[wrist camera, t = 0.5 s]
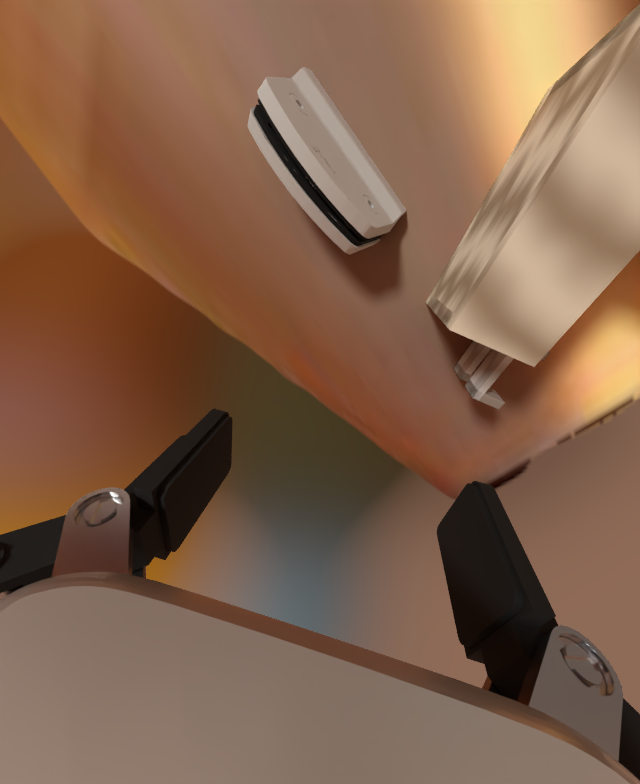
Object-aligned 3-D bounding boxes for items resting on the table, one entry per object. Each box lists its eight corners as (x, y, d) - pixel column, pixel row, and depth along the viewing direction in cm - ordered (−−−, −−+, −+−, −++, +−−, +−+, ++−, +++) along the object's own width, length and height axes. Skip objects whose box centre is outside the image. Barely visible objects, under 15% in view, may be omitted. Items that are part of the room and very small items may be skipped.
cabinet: (548, 88, 24) (699, -53, 13) (661, 140, 24) (910, 46, 13) (401, 345, 37) (411, 387, 26) (474, 377, 37) (516, 433, 26)
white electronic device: (408, 213, 30) (386, 233, 23) (376, 244, 33) (348, 269, 27) (308, 65, 26) (246, 39, 19) (283, 117, 29) (223, 110, 23)
